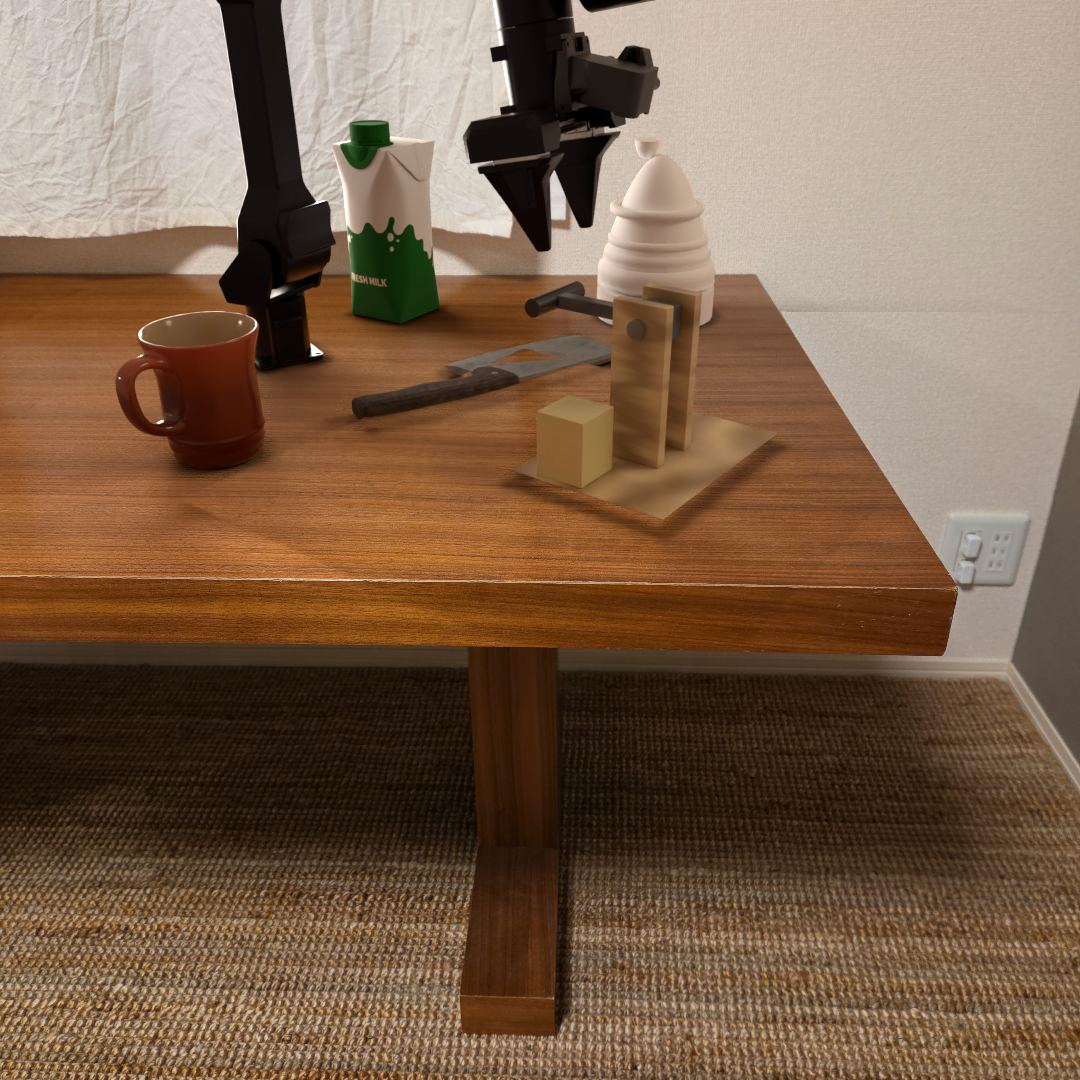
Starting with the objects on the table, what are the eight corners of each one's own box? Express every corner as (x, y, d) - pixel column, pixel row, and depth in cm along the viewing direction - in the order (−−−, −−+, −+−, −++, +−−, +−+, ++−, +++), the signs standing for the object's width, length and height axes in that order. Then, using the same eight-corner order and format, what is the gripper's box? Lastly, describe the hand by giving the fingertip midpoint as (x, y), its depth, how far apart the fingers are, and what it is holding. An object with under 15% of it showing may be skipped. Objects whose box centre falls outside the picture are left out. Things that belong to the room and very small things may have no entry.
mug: (223, 424, 85) (203, 304, 80) (300, 446, 81) (283, 322, 76) (103, 477, 77) (72, 347, 72) (182, 505, 73) (154, 369, 67)
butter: (536, 474, 74) (536, 410, 72) (567, 455, 77) (568, 394, 74) (581, 488, 72) (582, 424, 69) (611, 469, 75) (614, 406, 72)
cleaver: (382, 437, 82) (380, 413, 81) (320, 404, 89) (318, 381, 88) (633, 360, 100) (634, 340, 98) (565, 337, 106) (566, 317, 105)
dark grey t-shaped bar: (524, 322, 76) (524, 290, 75) (570, 303, 80) (570, 273, 79) (650, 351, 70) (652, 317, 69) (693, 329, 74) (695, 297, 73)
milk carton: (340, 315, 112) (320, 122, 102) (392, 295, 119) (378, 112, 109) (401, 328, 108) (387, 128, 98) (452, 307, 115) (443, 118, 105)
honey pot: (572, 315, 112) (574, 143, 103) (640, 290, 120) (647, 129, 111) (668, 339, 105) (680, 156, 96) (733, 311, 113) (749, 140, 104)
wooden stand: (511, 484, 75) (507, 309, 69) (638, 410, 88) (646, 256, 81) (661, 534, 69) (673, 346, 62) (776, 446, 81) (796, 282, 75)
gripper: (592, 7, 64) (623, 256, 70) (675, 2, 79) (694, 207, 85) (440, 37, 69) (482, 268, 75) (546, 27, 84) (573, 220, 90)
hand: (566, 238), depth 81 cm, fingers open, 9 cm apart
